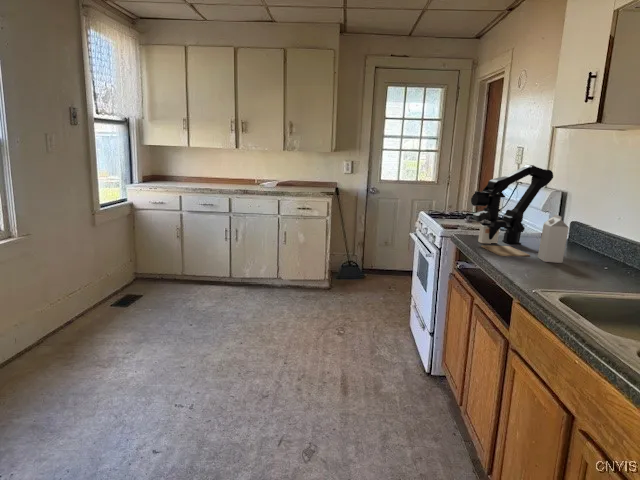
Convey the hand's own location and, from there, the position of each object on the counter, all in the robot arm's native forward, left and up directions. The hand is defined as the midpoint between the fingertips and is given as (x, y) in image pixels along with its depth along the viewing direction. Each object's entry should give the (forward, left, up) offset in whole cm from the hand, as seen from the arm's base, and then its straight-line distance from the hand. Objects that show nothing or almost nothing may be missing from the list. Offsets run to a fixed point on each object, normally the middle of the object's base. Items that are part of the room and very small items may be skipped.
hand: (488, 238), depth 209 cm
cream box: (0, 0, -2) cm, 2 cm away
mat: (+1, +17, -2) cm, 17 cm away
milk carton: (-11, +31, -2) cm, 33 cm away
